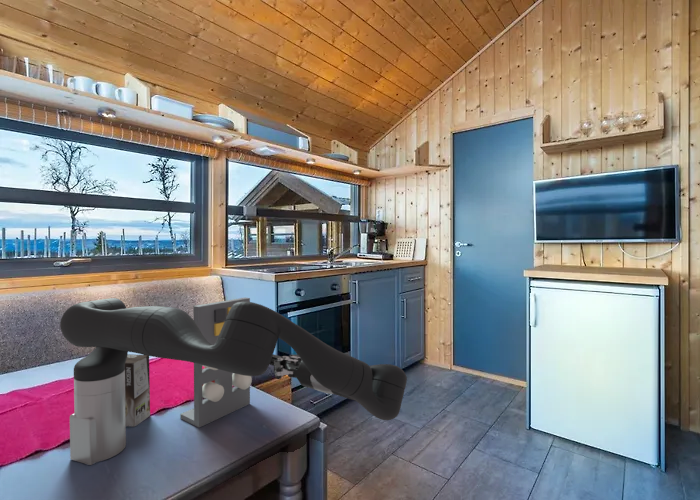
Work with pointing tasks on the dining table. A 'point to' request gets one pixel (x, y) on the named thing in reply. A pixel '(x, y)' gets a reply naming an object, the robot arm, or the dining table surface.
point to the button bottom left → (212, 391)
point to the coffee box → (137, 389)
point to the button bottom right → (241, 381)
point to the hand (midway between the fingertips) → (269, 359)
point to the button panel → (233, 398)
